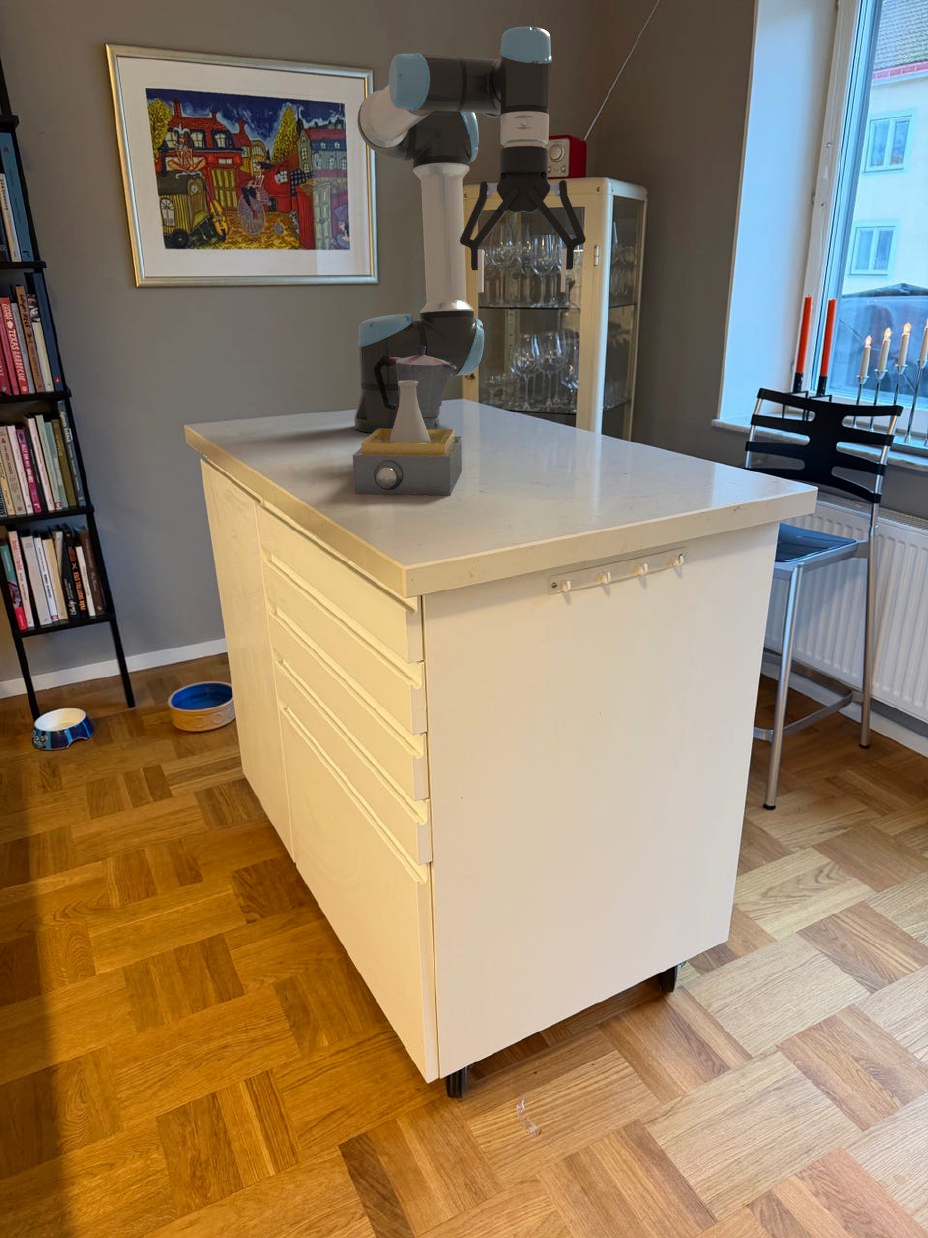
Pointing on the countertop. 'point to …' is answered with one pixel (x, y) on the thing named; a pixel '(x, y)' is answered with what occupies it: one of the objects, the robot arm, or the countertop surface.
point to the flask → (409, 417)
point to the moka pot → (419, 382)
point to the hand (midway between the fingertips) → (521, 292)
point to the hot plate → (408, 464)
